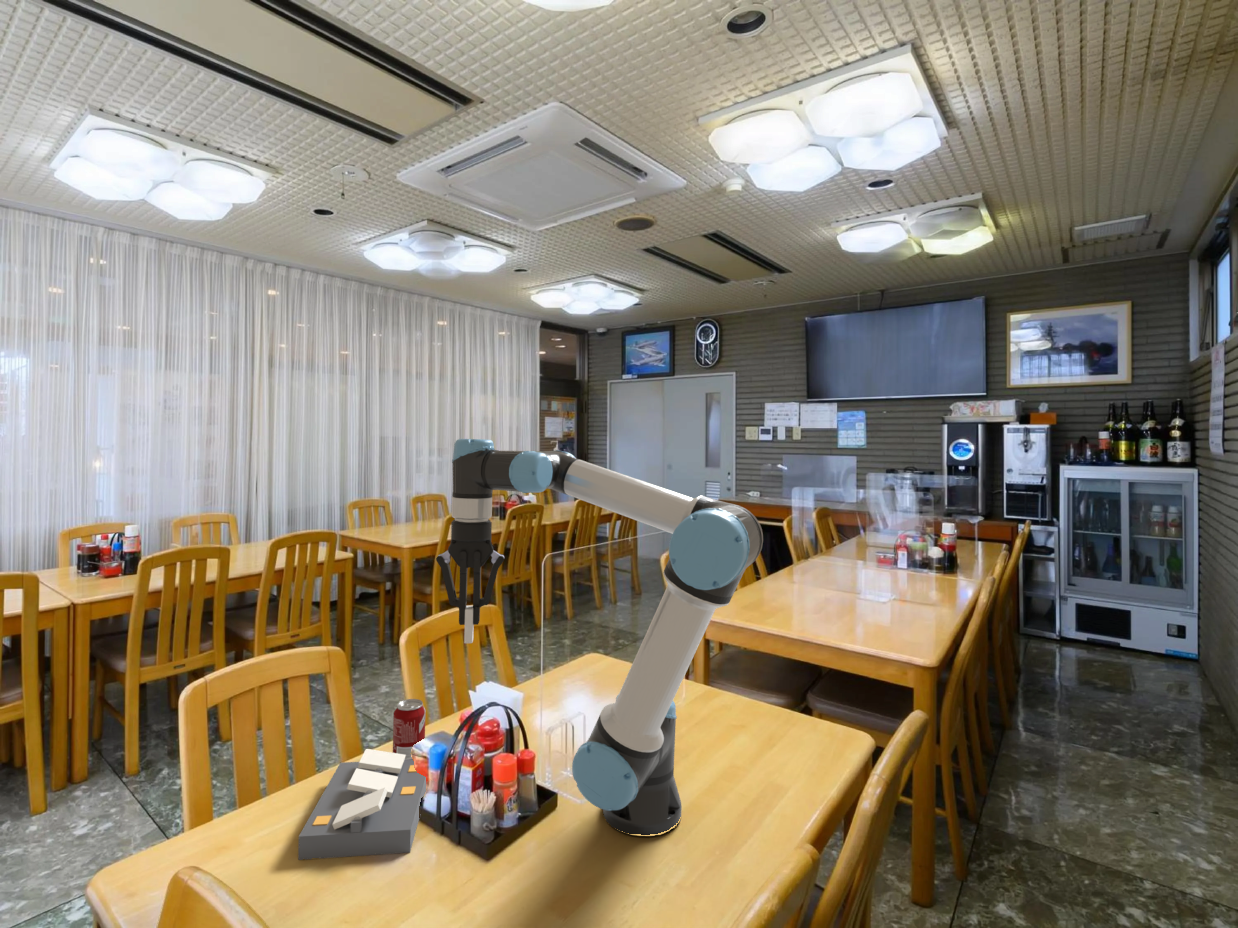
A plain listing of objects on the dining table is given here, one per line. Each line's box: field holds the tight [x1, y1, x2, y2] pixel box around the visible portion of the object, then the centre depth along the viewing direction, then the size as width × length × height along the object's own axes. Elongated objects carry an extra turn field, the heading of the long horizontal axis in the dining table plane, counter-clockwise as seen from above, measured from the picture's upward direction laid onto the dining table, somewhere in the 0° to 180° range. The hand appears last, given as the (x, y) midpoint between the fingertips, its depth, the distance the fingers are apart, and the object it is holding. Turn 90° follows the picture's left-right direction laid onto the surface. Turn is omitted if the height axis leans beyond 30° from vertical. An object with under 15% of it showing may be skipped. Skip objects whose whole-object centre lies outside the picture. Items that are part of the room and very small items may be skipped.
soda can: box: [392, 698, 427, 760], centre depth 138 cm, size 7×7×12 cm
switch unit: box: [297, 759, 427, 861], centre depth 117 cm, size 18×24×6 cm
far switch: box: [358, 748, 406, 774], centre depth 124 cm, size 8×6×2 cm
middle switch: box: [347, 768, 398, 798], centre depth 117 cm, size 8×6×2 cm
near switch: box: [332, 788, 387, 830], centre depth 109 cm, size 8×6×2 cm
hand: (468, 640), depth 119 cm, fingers closed
